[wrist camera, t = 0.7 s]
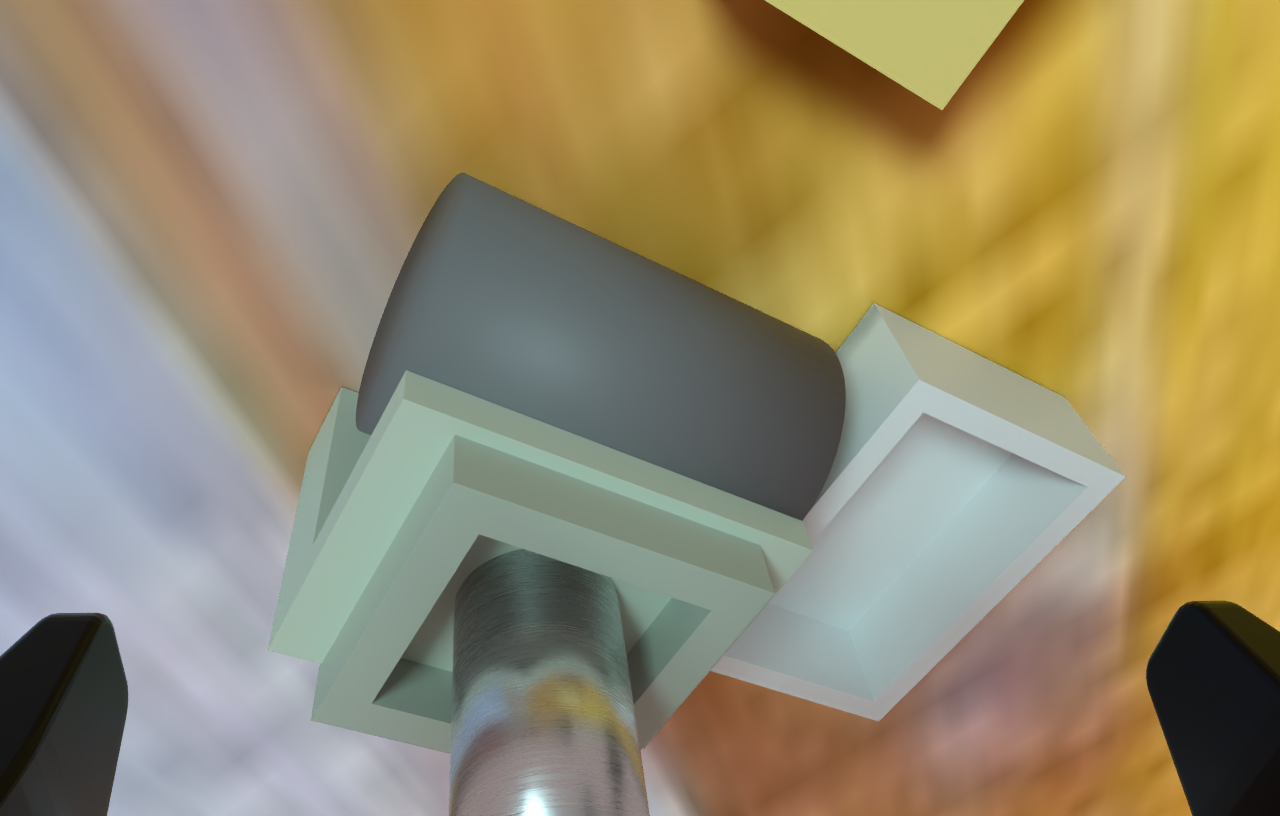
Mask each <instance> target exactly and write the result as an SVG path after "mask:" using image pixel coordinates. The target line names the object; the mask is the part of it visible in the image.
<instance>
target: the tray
mask: <svg viewBox="0 0 1280 816" xmlns="http://www.w3.org/2000/svg"><path fill="white" fill-rule="evenodd" d="M836 355H837V357H838V359H839V361H840V364H841V366H842V370H843V375H844V379H845V390H846V407H845V416H844V424H843V429H842V434H841V439H840V443H839V446H838V450H837V453H836V456H835V459H834V462H833V465H832V468H831V470H830V473H829V475H828V477H827V479H826V482H825V484H824V486H823V488H822V490H821V492H820V494H819V496H818V498H817V499H816V501H815V503H814V505H813V506H812V508H811V509H810V511H809V512H808V514H807V515H806V517H805V518H804V519H803V523H804V526H805V529H806V532H807V534H808V537H809V540H810V543H811V545H812V548H813V551H812V553H811V554H810V555H809V556H808V557H807V558H806V560H805V561H804V562H803V563H802V564H801V565H800V567H799V568H798V569H797V570H796V571H795V572H794V574H793V575H792V576H791V577H790V578H789V579H788V581H787V582H786V583H785V584H784V585H783V586H782V588H781V589H780V590H779V591H778V592H777V593H776V595H775V596H774V597H773V598H772V599H771V600H770V602H769V603H768V604H767V605H766V606H765V607H764V609H763V610H762V611H761V612H760V613H759V614H758V616H757V617H756V618H755V619H754V620H753V621H752V623H751V624H750V625H749V626H748V627H747V628H746V630H745V631H744V632H743V633H742V634H741V635H740V637H739V638H738V639H737V640H736V641H735V642H734V644H733V645H732V646H731V647H730V648H729V649H728V651H727V652H726V653H725V654H724V655H723V656H722V658H721V659H720V660H719V661H718V662H717V663H716V665H715V666H714V667H713V668H712V669H711V670H710V671H712V672H716V673H719V674H722V675H726V676H729V677H732V678H736V679H739V680H742V681H746V682H749V683H752V684H755V685H759V686H762V687H765V688H769V689H772V690H775V691H779V692H782V693H785V694H789V695H792V696H795V697H799V698H802V699H805V700H809V701H812V702H815V703H819V704H822V705H825V706H829V707H832V708H835V709H838V710H842V711H845V712H848V713H852V714H855V715H858V716H862V717H865V718H868V719H872V720H875V721H878V722H879V721H880V720H881V719H882V718H883V717H884V716H885V715H886V714H887V713H888V712H889V711H890V710H891V709H892V708H893V707H894V706H895V705H896V704H897V703H898V702H899V701H900V700H901V699H902V698H903V697H904V696H905V695H906V694H907V693H908V692H909V691H910V690H911V689H912V688H913V687H914V686H915V685H916V684H917V683H918V682H919V681H920V680H921V679H922V678H923V677H924V676H925V675H926V674H927V673H928V672H929V671H930V670H931V669H932V668H933V667H934V666H935V665H936V664H937V663H938V662H939V661H940V660H941V659H942V658H943V657H944V656H945V655H946V654H947V653H948V652H949V651H950V650H951V649H953V648H954V647H955V646H956V645H957V644H958V643H959V642H960V641H961V640H962V639H963V638H964V637H965V636H966V635H967V634H968V633H969V632H970V631H971V630H972V629H973V628H974V627H975V626H976V625H977V624H978V623H979V622H980V621H981V620H982V619H983V618H984V617H985V616H986V615H987V614H988V613H989V612H990V611H991V610H992V609H993V608H994V607H995V606H996V605H997V604H998V603H999V602H1000V601H1001V600H1002V599H1003V598H1004V597H1005V596H1006V595H1007V594H1008V593H1009V592H1010V591H1011V590H1012V589H1013V588H1014V587H1015V586H1016V585H1017V584H1018V583H1019V582H1020V581H1021V580H1022V579H1023V578H1024V577H1025V576H1026V575H1027V574H1028V573H1029V572H1030V571H1031V570H1032V569H1033V568H1034V567H1035V566H1036V565H1037V564H1038V563H1039V562H1040V561H1041V560H1042V559H1043V558H1044V557H1045V556H1046V555H1047V554H1048V553H1049V552H1050V551H1051V550H1052V549H1053V548H1054V547H1055V546H1056V545H1057V544H1059V543H1060V542H1061V541H1062V540H1063V539H1064V538H1065V537H1066V536H1067V535H1068V534H1069V533H1070V532H1071V531H1072V530H1073V529H1074V528H1075V527H1076V526H1077V525H1078V524H1079V523H1080V522H1081V521H1082V520H1083V519H1084V518H1085V517H1086V516H1087V515H1088V514H1089V513H1090V512H1091V511H1092V510H1093V509H1094V508H1095V507H1096V506H1097V505H1098V504H1099V503H1100V502H1101V501H1102V500H1103V499H1104V498H1105V497H1106V496H1107V495H1108V494H1109V493H1110V492H1111V491H1112V490H1113V489H1114V488H1115V487H1116V486H1117V485H1118V484H1119V483H1120V482H1121V481H1122V480H1123V479H1124V478H1125V477H1126V476H1125V475H1124V474H1123V472H1122V471H1121V470H1120V469H1119V467H1118V466H1117V465H1116V463H1115V462H1114V461H1113V459H1112V458H1111V457H1110V455H1109V454H1108V453H1107V452H1106V450H1105V449H1104V448H1103V446H1102V445H1101V444H1100V442H1099V441H1098V440H1097V438H1096V437H1095V436H1094V435H1093V433H1092V432H1091V431H1090V429H1089V428H1088V427H1087V425H1086V424H1085V423H1084V421H1083V420H1082V419H1081V418H1080V416H1079V415H1078V414H1077V412H1076V411H1075V410H1074V408H1073V407H1072V406H1071V404H1070V403H1069V402H1068V401H1067V399H1066V398H1065V397H1063V396H1061V395H1059V394H1057V393H1055V392H1053V391H1051V390H1049V389H1046V388H1044V387H1042V386H1040V385H1038V384H1036V383H1034V382H1032V381H1030V380H1028V379H1026V378H1024V377H1022V376H1020V375H1018V374H1016V373H1014V372H1012V371H1010V370H1008V369H1006V368H1004V367H1002V366H1000V365H998V364H996V363H994V362H992V361H990V360H988V359H986V358H984V357H982V356H980V355H978V354H976V353H974V352H972V351H970V350H968V349H966V348H964V347H962V346H960V345H958V344H956V343H954V342H952V341H950V340H948V339H945V338H943V337H941V336H939V335H937V334H935V333H933V332H931V331H929V330H927V329H925V328H923V327H921V326H919V325H917V324H915V323H913V322H911V321H909V320H907V319H905V318H903V317H901V316H899V315H897V314H895V313H893V312H891V311H889V310H887V309H885V308H883V307H881V306H879V305H877V304H875V303H874V304H873V305H872V307H871V308H870V309H869V310H868V312H867V313H866V314H865V316H864V317H863V318H862V319H861V321H860V322H859V323H858V325H857V326H856V327H855V329H854V330H853V331H852V332H851V334H850V335H849V336H848V338H847V339H846V340H845V341H844V343H843V344H842V345H841V347H840V348H839V349H838V351H837V352H836Z"/></svg>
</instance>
